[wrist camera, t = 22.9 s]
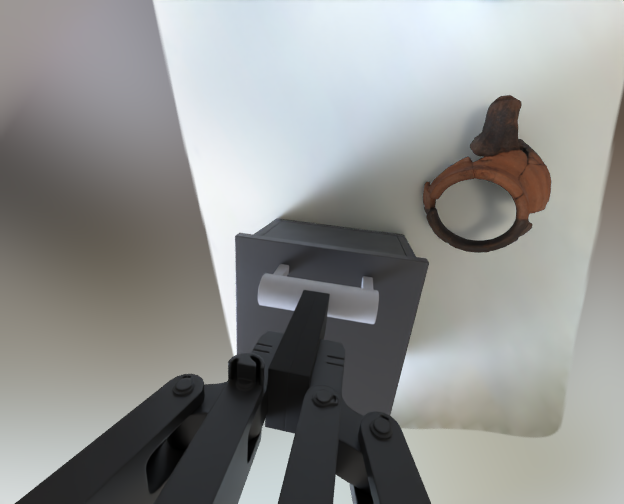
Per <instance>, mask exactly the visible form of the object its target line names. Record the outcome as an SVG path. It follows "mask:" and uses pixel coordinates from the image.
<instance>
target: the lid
mask: <svg viewBox="0 0 624 504" xmlns="http://www.w3.org/2000/svg"><path fill="white" fill-rule="evenodd" d="M235 246H236V322H237V355H238V354H241V353H251V352H252V350H253V348H254V347H255V345H256V344H257V341H258V340H259V338H260V336H261V335H263V334H264V333H265V332H267V331H268V330H269V331H274V332H280V333H285V330H286V328H287V326H288V324H289V321H290V319H291V317H292V315H293V313H294V310H295V308H296V306H297V304H298V301H299V299H300V297H301V295H302V293H303V290H309V291H316V292H322V293H328V294H330V297H329V305H328V313H327V321H326V329H325V336H324V340H329V341H334V342H340V343H342V345H343V347H344V349H345V362H344V373H343V385H342V397H343V399H344V401H345V403H346V404H347V405H348V406H349V407H350V408H351V409H352V410H354V411H355V412H357V413H359V414H361V415H363V416H364V415H366V414H367V413H368V412H374V411H377V412H383V413H385V414H387V415H389V416H390V414H391V410H392V406H393V402H394V398H395V394H396V390H397V387H398V383H399V379H400V375H401V371H402V367H403V363H404V359H405V355H406V351H407V347H408V343H409V339H410V335H411V332H412V328H413V324H414V320H415V316H416V312H417V308H418V304H419V300H420V296H421V292H422V288H423V284H424V281H425V277H426V273H427V269H428V265H429V262H428V260H427V259H426V258H418V257H411V256H404V255H397V254H389V253H382V252H375V251H368V250H360V249H353V248H346V247H339V246H331V245H324V244H317V243H310V242H302V241H295V240H288V239H280V238H273V237H266V236H259V235H251V234H244V233H239V234H237V235H236V236H235Z"/></svg>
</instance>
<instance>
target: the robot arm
mask: <svg viewBox="0 0 624 504" xmlns="http://www.w3.org/2000/svg"><path fill="white" fill-rule="evenodd" d="M329 297H330V294H328V293H322V292H316V291H309V290H303V293H302V295H301V297H300V299H299V301H298V304H297V306H296V308H295V310H294V313H293V315H292V317H291V319H290V321H289V324H288V326H287V328H286V330H285V333H280V332H274V331H269V330H268V331H267V332H265V333H264V334H263V335H261V336H260V338H259V340H258V341H257V344H256V345H255V347H254V348H253V350H252V352H251V353H241V354H238V355H236V356H234V357H232V358H231V359H230V360H229V362H228V378H229V379H228V381H227V382H224V383H219V384H208V385H207V384H206V385H204V382H203V379H202V378H201V377H199V376H198V375H194V374H184V375H181V376H177V377H175V378H174V379H172V380H170V381H169V382H168V383H166V384H165V385H164V386H163V387H161V388H160V389H159V390H158V391H156V392H155V393H154V394H152V395H151V396H150V397H149V398H147V399H146V400H145V401H144V402H143V403H141V404H140V405H139V406H137V407H136V408H135V409H134V410H132V411H131V412H130V413H128V414H127V415H126V416H125V417H123V418H122V419H121V420H120V421H118V422H117V423H116V424H115V425H113V426H112V427H111V428H110V429H108V430H107V431H106V432H105V433H103V434H102V435H101V436H99V437H98V438H97V439H96V440H95V441H93V442H92V443H91V444H90V445H88V446H87V447H86V448H84V449H83V450H82V451H81V452H79V453H78V454H77V455H76V456H74V457H73V458H72V459H71V460H69V461H68V462H67V463H66V464H64V465H63V466H62V467H60V468H59V469H58V470H57V471H55V472H54V473H53V474H52V475H50V476H49V477H48V478H47V479H46V480H44V481H43V482H41V483H40V484H39V485H38V486H37V487H35V488H34V489H33V490H31V491H30V492H29V493H28V494H26V495H25V496H24V497H23V498H21V499H20V500H19V501H18V502H16V503H15V504H238V501H239V499H240V496H241V493H242V490H243V487H244V485H245V482H246V479H247V476H248V473H249V471H250V468H251V465H252V463H253V459H254V457H255V454H256V451H257V449H258V446H259V443H260V440H261V430H262V426H263V423H264V421H265V427H269V428H273V429H278V430H282V431H286V432H291V433H295V437H294V440H293V444H292V448H291V452H290V457H289V461H288V464H287V468H286V473H285V476H284V481H283V485H282V489H281V493H280V497H279V501H278V504H333V497H334V486H335V475H338V476H339V477H341V478H342V479H344V480H345V481H347V482H349V483H350V490H351V495H352V501H353V504H431V502H430V499H429V497H428V494H427V492H426V490H425V487H424V485H423V482H422V480H421V477H420V475H419V472H418V470H417V467H416V465H415V462H414V460H413V457H412V455H411V452H410V450H409V447H408V445H407V443H406V440H405V437H404V435H403V432H402V430H401V428H400V426H399V425H398V423H397V422H396V421H395V420H394V419H393V418H392V417H391V416H389V415H387V414H385V413H383V412H377V411H374V412H368V413H367V414H366V415H364V416H363V415H361V414H359V413H357V412H355V411H354V410H352V409H351V408H350V407H349V406H348V405H347V404H346V403H345V401H344V399H343V397H342V385H343V373H344V362H345V349H344V347H343V345H342V343H340V342H334V341H329V340H324V336H325V329H326V321H327V313H328V305H329ZM265 418H266V419H265Z"/></svg>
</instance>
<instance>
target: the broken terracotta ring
mask: <svg viewBox="0 0 624 504" xmlns="http://www.w3.org/2000/svg"><path fill="white" fill-rule="evenodd" d="M520 108H521V101H520V100H518V99H516V98H514V97H513V96H511V95H507V96H501V97H499V98H497V99H496V100H495V101H494V102H493V103H491V105H490V107H489V108H488V111H487V115H486V119H485V123H484V126H483V130H482V132H481V133H480V134H479V135H478V136H477V137H475V138H474V140H473V141H472V143H471V144H470V148H471V150H472V151H473V153H474V154H476V155H478V156H484V157H483V158H481V159H479V160H478V161H475V162H472V161H471V159H470V157H465V158H463V159H462V160H460V161H458V162H456V163H455V164H453V165H451V166H450V167H448V168H447V169H446V170H445V171H443V172H442V173H441V174H440V175H439V176H438V177H436V178H435V180H434V181H433V182H432V183H431V185H430V182H426V183H425V186H424V193H423V203H424V205H425V207H424V209H425V212H426V214H427V215H426V216H427V220H428V223H429V225H430V226H431V228H432V230H433V231H434V233H435V234H436V235H437V236H438V237H439V238H440V239H442V240H443V241H444V242H446V243H449V245H451V246H453V247H455V248H458V249H461V250H464V251H468V252H478V253H481V252H489V251H494V250H497V249H500V248H503V247H506V246H507V245H509V244H511V243H513V242H515V241H517V240H518V237H520V236H522V235H524V234H525V233H527V232H528V231H529V230H530V229H531V228H532V223H530V222H529V220H528V217H529V214H530V213H535V212H539V211H541V210H544V209H545V207H546V204H547V202H548V201H549V198H550V193H551V177H550V173H549V170H548V168H547V166H546V165H545V164H544V162H543V161H542V159H541V158H540V157H539V156H538V154H537V153H536V152H535V151H534V150H533V149H532V148H531V147H530V146H529V145H527V144H526V143H524V141H523V140H521V139H518V116H519V111H520ZM474 178H476V179H483V180H487V181H491V182H493V183H496V184H498V185H499V186H501V187H503V188H504V189H505V190H506V191H508V192H509V194H510V195H511V196H512V198H513V200H514V202H515V205H516V220H515V222H514V224H513V225H512V227H511V228H510V229H509V230H508V231H507V232H505V233H504V234H503V235H501V236H499V237H497V238H494V239H490V240H484V241H475V240H468V239H465V238H462V237H459V236H457V235H455V234H454V233H452V232H451V231H449V230H448V229H447V228H446V227H445V226H444V225H443V224H442V222H441V220H440V218H439V216H438V213H437V209H436V208H435V203H436V199H439V197H440V196H441V195H442V193H443V192H444V191H445V190H446V189H447V188H448V187H450V186H451V185H453V184H455V183H457V182H460V181H464V180H469V179H474Z"/></svg>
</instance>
